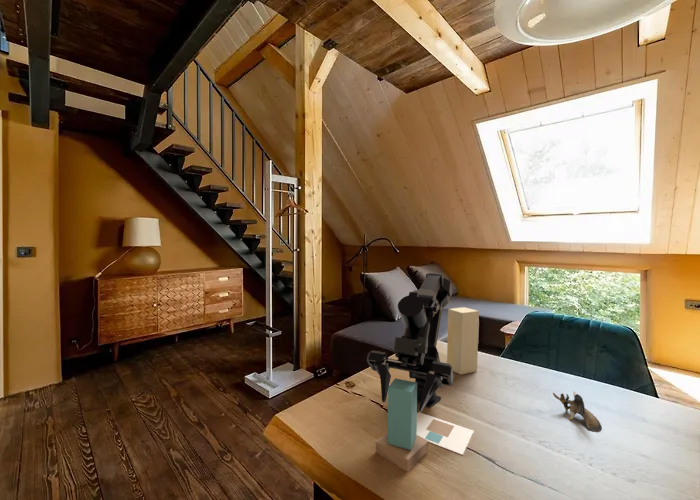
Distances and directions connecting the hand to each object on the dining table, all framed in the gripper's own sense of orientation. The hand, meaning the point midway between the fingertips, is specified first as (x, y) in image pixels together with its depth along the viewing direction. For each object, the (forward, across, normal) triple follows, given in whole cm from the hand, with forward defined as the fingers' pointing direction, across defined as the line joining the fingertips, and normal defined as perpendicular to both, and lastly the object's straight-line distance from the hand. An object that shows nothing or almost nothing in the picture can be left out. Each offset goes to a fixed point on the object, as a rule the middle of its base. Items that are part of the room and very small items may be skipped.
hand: (401, 406), depth 67 cm
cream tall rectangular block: (-29, +7, +44) cm, 54 cm away
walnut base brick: (+7, 0, +9) cm, 11 cm away
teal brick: (+5, 0, +7) cm, 8 cm away
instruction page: (-1, +6, +16) cm, 17 cm away
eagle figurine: (-15, +37, +31) cm, 51 cm away
